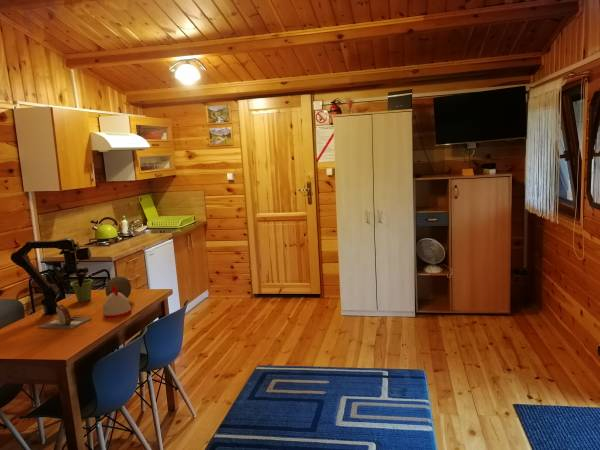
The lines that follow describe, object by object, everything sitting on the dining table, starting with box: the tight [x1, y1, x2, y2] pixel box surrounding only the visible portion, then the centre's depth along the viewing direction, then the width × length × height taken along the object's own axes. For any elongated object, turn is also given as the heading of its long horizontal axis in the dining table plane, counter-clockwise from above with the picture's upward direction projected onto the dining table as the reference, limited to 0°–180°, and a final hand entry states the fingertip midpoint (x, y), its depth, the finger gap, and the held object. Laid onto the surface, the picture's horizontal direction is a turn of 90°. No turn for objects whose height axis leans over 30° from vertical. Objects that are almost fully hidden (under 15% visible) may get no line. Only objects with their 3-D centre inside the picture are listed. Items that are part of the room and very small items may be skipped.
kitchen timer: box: [102, 286, 132, 319], centre depth 246 cm, size 14×14×15 cm
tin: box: [56, 304, 72, 325], centre depth 236 cm, size 15×3×8 cm, turn 42°
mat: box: [38, 317, 92, 330], centre depth 237 cm, size 20×14×1 cm
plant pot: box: [70, 278, 94, 303], centre depth 275 cm, size 12×12×11 cm
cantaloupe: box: [105, 276, 132, 299], centre depth 265 cm, size 14×14×15 cm
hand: (74, 289), depth 255 cm, fingers open, 9 cm apart
